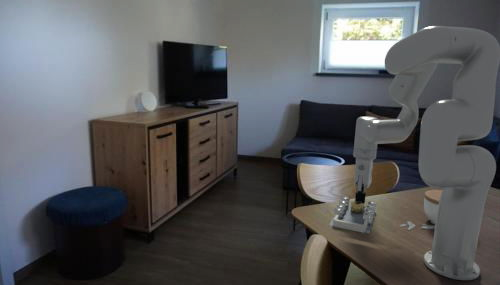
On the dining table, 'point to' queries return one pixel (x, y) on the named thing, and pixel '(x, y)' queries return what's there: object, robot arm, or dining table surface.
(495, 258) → the dining table surface
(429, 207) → the lidded bowl
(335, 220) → the board
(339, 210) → the spacers
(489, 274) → the dining table surface
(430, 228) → the pliers
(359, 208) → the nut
